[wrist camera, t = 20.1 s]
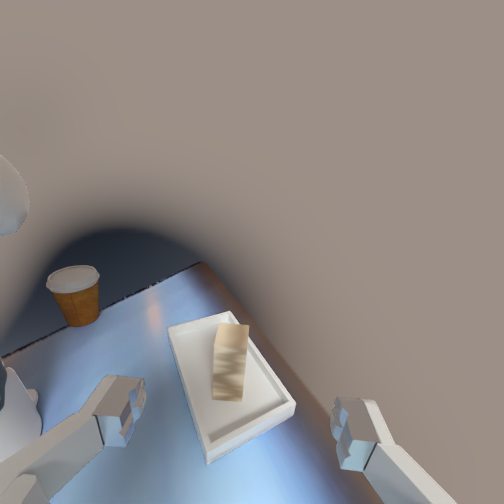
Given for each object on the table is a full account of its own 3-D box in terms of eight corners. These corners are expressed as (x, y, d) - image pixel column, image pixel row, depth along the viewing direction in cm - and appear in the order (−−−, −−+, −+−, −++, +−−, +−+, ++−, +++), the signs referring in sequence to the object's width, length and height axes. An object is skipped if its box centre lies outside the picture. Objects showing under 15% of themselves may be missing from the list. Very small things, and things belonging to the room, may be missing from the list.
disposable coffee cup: (79, 304, 61) (69, 262, 56) (115, 308, 60) (107, 266, 56) (47, 329, 52) (31, 282, 47) (88, 334, 51) (77, 287, 47)
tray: (168, 338, 52) (167, 327, 51) (229, 320, 59) (230, 310, 58) (206, 465, 32) (206, 452, 31) (293, 415, 39) (296, 403, 38)
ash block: (212, 399, 39) (213, 344, 35) (217, 373, 44) (219, 322, 39) (241, 402, 39) (247, 348, 35) (244, 376, 44) (249, 325, 39)
